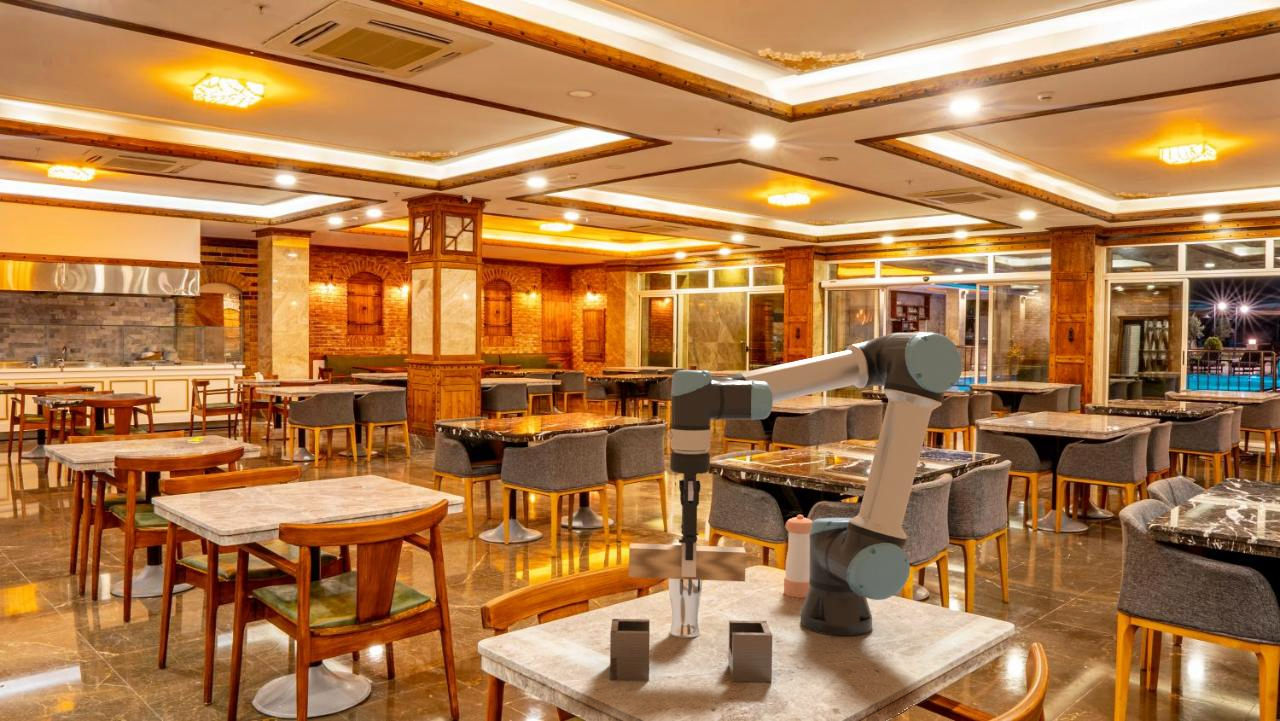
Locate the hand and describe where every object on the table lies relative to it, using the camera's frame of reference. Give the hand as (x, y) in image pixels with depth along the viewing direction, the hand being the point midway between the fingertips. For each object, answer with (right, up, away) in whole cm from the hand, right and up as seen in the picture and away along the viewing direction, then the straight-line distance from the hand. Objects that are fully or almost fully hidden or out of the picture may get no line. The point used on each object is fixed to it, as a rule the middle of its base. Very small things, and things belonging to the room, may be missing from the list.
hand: (688, 572), depth 167 cm
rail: (0, -1, 0) cm, 1 cm away
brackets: (0, -17, -6) cm, 18 cm away
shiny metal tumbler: (0, -17, +15) cm, 23 cm away
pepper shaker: (+29, -16, +45) cm, 56 cm away
